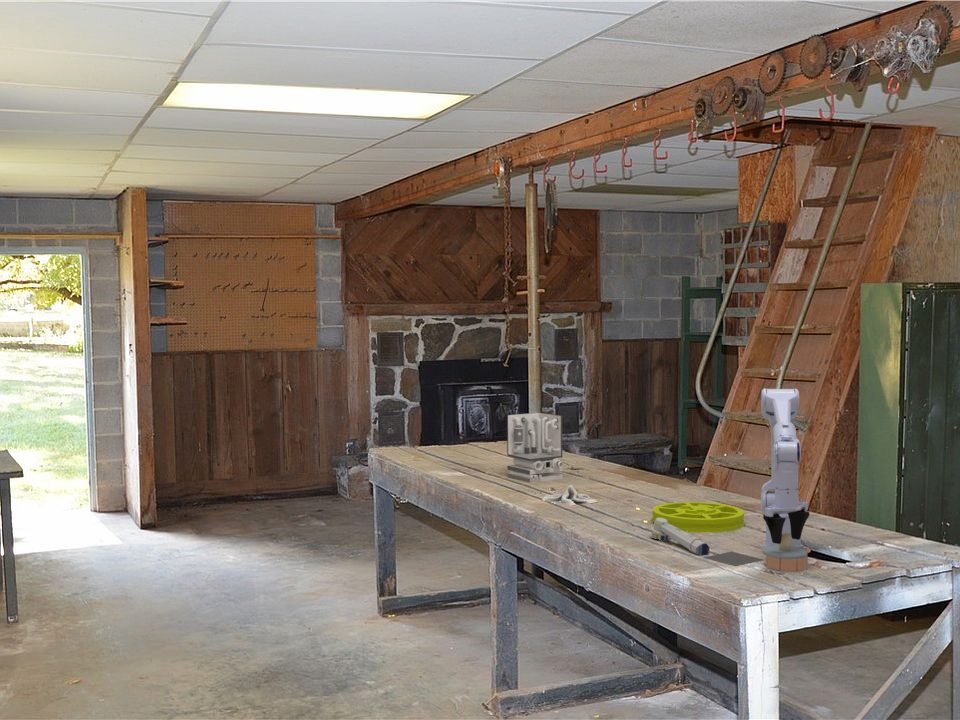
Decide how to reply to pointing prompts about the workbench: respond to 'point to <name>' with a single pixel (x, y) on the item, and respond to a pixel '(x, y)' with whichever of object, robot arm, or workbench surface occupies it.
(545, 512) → the workbench surface
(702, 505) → the pulley
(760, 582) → the workbench surface
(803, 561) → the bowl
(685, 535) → the grey flashlight
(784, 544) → the lid
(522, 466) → the electrical transformer
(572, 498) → the cloth
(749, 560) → the mat
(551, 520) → the workbench surface
